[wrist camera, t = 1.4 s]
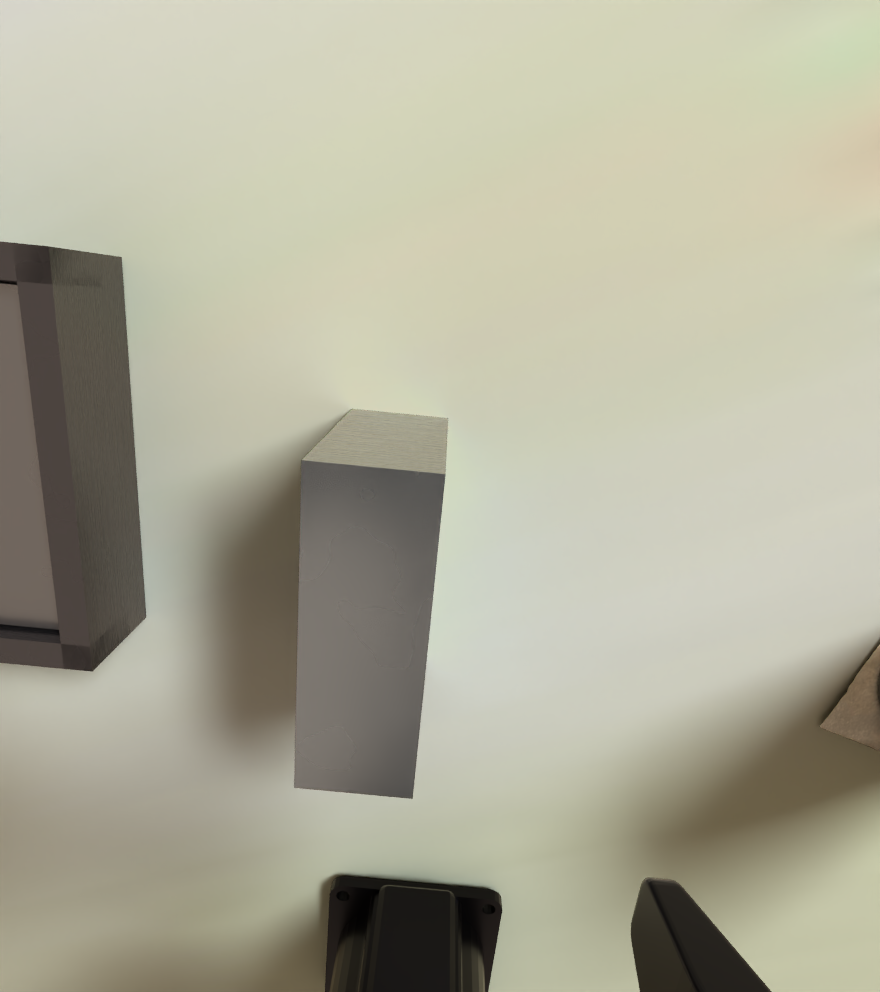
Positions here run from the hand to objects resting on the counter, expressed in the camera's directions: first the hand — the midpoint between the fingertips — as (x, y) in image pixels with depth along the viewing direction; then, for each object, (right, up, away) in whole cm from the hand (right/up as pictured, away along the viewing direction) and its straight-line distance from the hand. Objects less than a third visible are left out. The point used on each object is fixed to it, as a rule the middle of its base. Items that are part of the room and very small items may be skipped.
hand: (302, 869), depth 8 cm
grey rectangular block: (0, +3, +11) cm, 11 cm away
